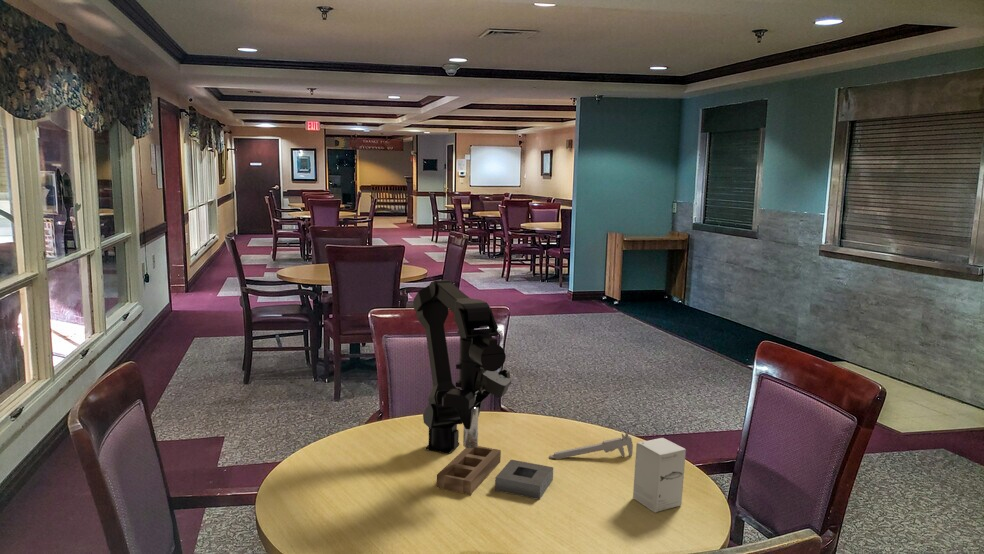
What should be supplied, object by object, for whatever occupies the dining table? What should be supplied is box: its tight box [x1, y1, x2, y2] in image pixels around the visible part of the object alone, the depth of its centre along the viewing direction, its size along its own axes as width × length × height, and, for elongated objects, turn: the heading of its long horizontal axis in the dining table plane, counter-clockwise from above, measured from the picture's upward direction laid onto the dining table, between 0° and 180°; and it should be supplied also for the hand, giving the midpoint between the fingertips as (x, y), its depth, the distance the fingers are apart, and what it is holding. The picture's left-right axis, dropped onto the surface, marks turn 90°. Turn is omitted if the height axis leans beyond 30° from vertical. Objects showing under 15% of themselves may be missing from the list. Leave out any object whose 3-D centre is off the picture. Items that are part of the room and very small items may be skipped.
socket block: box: [494, 459, 554, 500], centre depth 150 cm, size 10×10×3 cm
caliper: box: [548, 431, 634, 460], centre depth 165 cm, size 20×1×6 cm, turn 97°
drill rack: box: [436, 445, 502, 496], centre depth 154 cm, size 8×18×3 cm, turn 159°
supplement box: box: [632, 437, 687, 514], centre depth 143 cm, size 7×7×13 cm
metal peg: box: [462, 405, 479, 448], centre depth 153 cm, size 3×3×9 cm
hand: (470, 426), depth 153 cm, fingers closed on metal peg, 3 cm apart
